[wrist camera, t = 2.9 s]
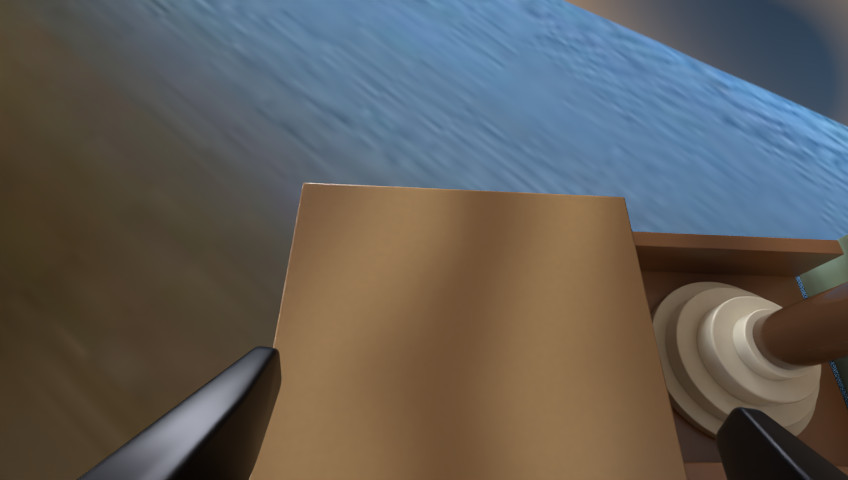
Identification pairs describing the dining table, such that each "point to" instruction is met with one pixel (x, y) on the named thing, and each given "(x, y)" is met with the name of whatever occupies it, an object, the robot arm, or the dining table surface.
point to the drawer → (770, 279)
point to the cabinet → (466, 341)
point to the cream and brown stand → (747, 352)
